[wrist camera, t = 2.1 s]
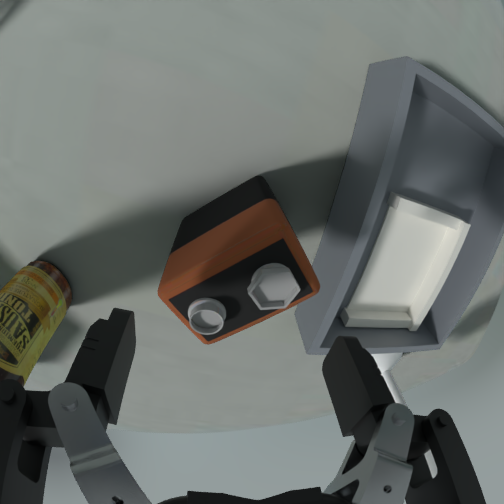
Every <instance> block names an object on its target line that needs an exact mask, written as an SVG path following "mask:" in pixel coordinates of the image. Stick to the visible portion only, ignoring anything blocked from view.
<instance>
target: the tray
mask: <svg viewBox="0 0 504 504" xmlns="http://www.w3.org/2000/svg"><path fill="white" fill-rule="evenodd" d="M503 234H504V127H503V126H502V125H501V124H500V123H499V122H497V121H496V120H495V119H494V118H493V117H492V116H491V115H490V114H489V113H487V112H486V111H485V110H484V109H483V108H482V107H480V106H479V105H478V104H477V103H476V102H474V101H473V100H472V99H471V98H469V97H468V96H467V95H465V94H464V93H463V92H462V91H460V90H459V89H457V88H456V87H455V86H453V85H452V84H451V83H449V82H448V81H446V80H445V79H443V78H442V77H440V76H439V75H437V74H436V73H434V72H433V71H431V70H430V69H428V68H427V67H425V66H423V65H422V64H420V63H418V62H417V61H415V60H413V59H412V58H410V57H408V56H406V57H401V58H395V59H390V60H386V61H381V62H377V63H372V64H369V69H368V74H367V78H366V83H365V87H364V92H363V96H362V100H361V104H360V108H359V113H358V117H357V121H356V124H355V128H354V132H353V136H352V140H351V144H350V147H349V151H348V154H347V158H346V162H345V165H344V169H343V172H342V176H341V179H340V182H339V186H338V189H337V192H336V196H335V199H334V202H333V205H332V209H331V212H330V215H329V218H328V221H327V224H326V227H325V230H324V233H323V236H322V239H321V242H320V245H319V248H318V251H317V254H316V257H315V260H314V263H313V265H312V268H313V270H314V272H315V274H316V276H317V278H318V280H319V283H320V290H319V292H318V293H317V294H316V295H314V296H312V297H311V298H309V299H307V300H305V301H303V302H301V303H299V304H298V306H297V309H296V312H295V317H296V320H297V324H298V327H299V330H300V334H301V337H302V340H303V343H304V347H305V350H306V353H307V354H315V355H327V354H328V352H329V350H330V348H331V347H332V345H333V343H334V341H335V339H336V338H337V337H338V336H356V337H357V338H358V340H359V342H360V344H361V346H362V348H365V349H366V350H367V351H368V352H369V353H370V354H386V353H403V352H416V351H427V350H437V349H440V348H441V346H442V345H443V343H444V342H445V340H446V339H447V338H448V336H449V335H450V333H451V332H452V330H453V329H454V327H455V326H456V324H457V322H458V321H459V319H460V318H461V316H462V315H463V313H464V311H465V310H466V308H467V306H468V305H469V303H470V301H471V299H472V298H473V296H474V294H475V292H476V291H477V289H478V287H479V285H480V283H481V281H482V279H483V277H484V275H485V273H486V271H487V269H488V267H489V265H490V263H491V261H492V259H493V257H494V255H495V252H496V250H497V248H498V246H499V243H500V241H501V238H502V236H503Z"/></svg>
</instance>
